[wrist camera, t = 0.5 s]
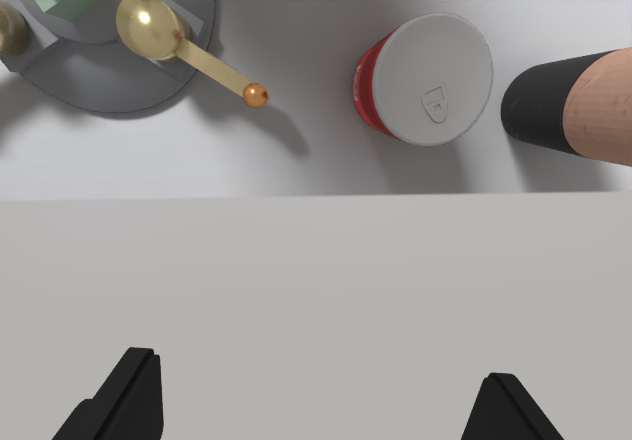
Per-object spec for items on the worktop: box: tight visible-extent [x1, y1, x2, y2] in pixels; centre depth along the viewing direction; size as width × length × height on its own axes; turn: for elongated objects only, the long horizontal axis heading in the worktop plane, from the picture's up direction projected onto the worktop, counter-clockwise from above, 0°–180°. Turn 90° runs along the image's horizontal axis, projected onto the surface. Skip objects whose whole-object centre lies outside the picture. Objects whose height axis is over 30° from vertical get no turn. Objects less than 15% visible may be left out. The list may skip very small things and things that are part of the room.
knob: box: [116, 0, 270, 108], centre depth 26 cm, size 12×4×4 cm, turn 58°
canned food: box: [352, 12, 493, 146], centre depth 26 cm, size 8×8×11 cm
